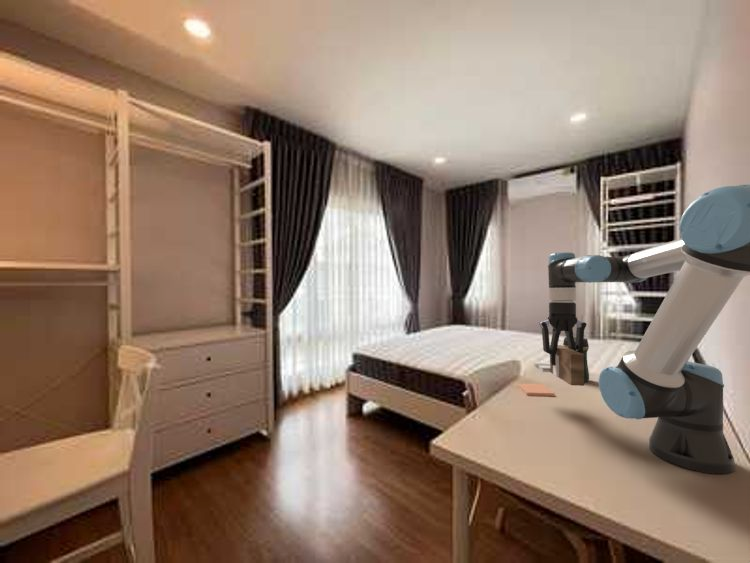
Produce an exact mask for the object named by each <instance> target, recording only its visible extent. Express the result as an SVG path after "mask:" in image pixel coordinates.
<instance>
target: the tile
mask: <svg viewBox="0 0 750 563" xmlns="http://www.w3.org/2000/svg"><path fill="white" fill-rule="evenodd" d="M516 386H517V388H519V389H520V390H521V391H522V392H523V393H524V394H525V396H531V397H532V396H534V397H555V396H556V394H555V392H554V391H552V390H551V389H550V388H548V387H547V386H546V385H545V384H543V383H517V385H516Z"/></svg>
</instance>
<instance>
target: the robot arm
mask: <svg viewBox="0 0 750 563" xmlns="http://www.w3.org/2000/svg"><path fill="white" fill-rule="evenodd" d="M678 230H679V231H680V232H681V233H680V234H679V236H680V238H677V239H675V240H672V241H671V240H670V241H668V242H665V243H662V244H659V245H656V246H652V247H648V248H646V249H643V250H640V251H636V252H634V253H630V254H627V255H623V256H603V255H599V254H589V255H585V256H579V257H577V256H576V254H575V253H574V252H554V253H551V254H549V256H548V265H547V268H548V269H547V271H548V300H549V301H550V302H549V303H548V313H549V315H548V318H547V319H546V320H543V321H540V322H539V323H538V324H539V325H540V329H541V336H542V348H543V352H545V353H546V354H549V363H550V364H551V365H553V374H552V376H555V377H556V378H559V356H558V355H556V352H557V347H558V344H559V341H560V336H561V334H562V332H564V334H565V337H566V338H567V343H568V348H569V349H572V350H574V351H577V352H580V353H583V342H584V337H585V329H586V327H587V323H586V322H584V321H580V320H578V318H577V304H576V302H575V301H576V299H577V293H576V292H577V291H576V287H577V286H576V283H589V284H591V283H628V284H632V283H633V284H635V283H642V282H644V281H646V280H647V279H648V278H651V277H657V276H661V275H665V274H669V273H670V274H671V273H674V272H675V273H676V272H678V273H677V275H676V277H675V279H674V281H673V282H672V284H671V286H670V288H669V289H668V291H667V293H666V295H665V296H664V299H663V300H662V302H661V304H660V306H659V308H658V309H657V311H656V313H655V315H654V316H653V318H652V320H651V322H650V324H649V325H648V327H647V329H646V331H645V333H644V335H643V336H642V338H641V340H640V342H639V343H638V345H637V346H636V349H635V350H628V351H626V352H625V353H624V354H623V356H622V357H621V358H620V361H619V363H618V364H617V365H616V366H608V367H605V368H604V369H602V370H601V371H600V374H599V375H598V388H599V389H598V390H599V392H600V396H601V398H602V400H603V401H604V403H605V404H606V406H607V407H608V408H609V409H610V410H611V412H613V414H616V415H617V416H618V417H621V418H624V419H631V420H632V419H633V420H634V419H635V420H641V419H652V418H653V419H655V418H656V419H657V420H656V422H655V425H654V426H653V429H652V431H651V434H650V436H649V438H648V440H649V442H648V447H649V450H650V452H652V454H653V455H655V456H657V457H658V458H660V459H662V460H664V461H666V462H669V463H671V464H674V465H676V466H679V467H682V468H685V469H688V470H692V471H695V472H699V473H700V472H701V473H706V474H707V473H708V474H715V475H716V474H718V475H725V474H726V475H727V474H729V473H733V472H734V471H735V459H734V458H735V457H734V455H733V453H732V450H731V448H730V445H729V444H728V441H727V438H726V436H725V433H724V387H725V384H724V379H723V378H724V377H723V373H722V371H721V370H720V369H719V368H717V367H715V366H711V365H708V364H703V363H698V362H693V361H689V359H691V357H692V355H693V354H694V352H695V351H696V350H697V348H698V346H699V345H700V343H702V340H703V339H704V338H705V335H706V334H707V333H708V332H709V331H710V328H711V327H712V325H713V324H714V322H715V321H716V319H717V318H718V317H719V315H720V314H721V311H723V309H724V307H725V306H726V304H727V303H728V301H729V300H730V298H731V297H732V295H733V294H734V292H735V291H736V289H737V288H738V286H739V285H740V283H741V282H742V280H743V279H744V278H745V277H748V276H750V184H739V185H728V186H720V187H717V188H714V189H710V190H709V191H707V192H704V193H703V194H701V195H700V196H698V197H697V198H695V199H694V200H693V201H692V202H691V203H690V204H689V205H688V206H687V207H686V209H685V210H684V211H683V213H682V215H681V217H680V220H679V226H678ZM550 326H551V327H552V331H551V332H552V335H551V340H550V331H549V327H550ZM575 326H576V332H575V336H574V330H573V328H574V327H575ZM574 337H576V347H575V342H574ZM550 341H551V342H550Z"/></svg>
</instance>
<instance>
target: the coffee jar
mask: <svg viewBox="0 0 750 563" xmlns="http://www.w3.org/2000/svg"><path fill="white" fill-rule="evenodd" d="M573 337H574V342H575V347H576V336H573ZM562 342H563V343H562V344H563V345H562V346H564V347H567V348H568V343H567V338H566V336H565V337H564V338H563V341H562ZM589 347H590V346H589V341H588V338H584V342H583V353H582V354H584V383H585V382H589V380H590V370H589V365H588V350H589V349H590V348H589Z"/></svg>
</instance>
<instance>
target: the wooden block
mask: <svg viewBox="0 0 750 563" xmlns="http://www.w3.org/2000/svg"><path fill="white" fill-rule="evenodd" d="M556 355H558V356H559V377H558V378H559V379H561V380H562V381H563V382H565V383H566V384H569V385H570V386H583V387H584V386H585V382H584V354H582V353H580V352H577V351H574V350H572V349H569V348H567V347H564V346H563V345H558V347H557V352H556ZM533 367H534V368H537V369H538V370H539V371H541V372H542V373H550V374H552V375H553V365H551V364H550V362H544V361H543V362H541V361H540V362H539V361H538V362H537V361H536V362H534V361H533Z"/></svg>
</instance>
